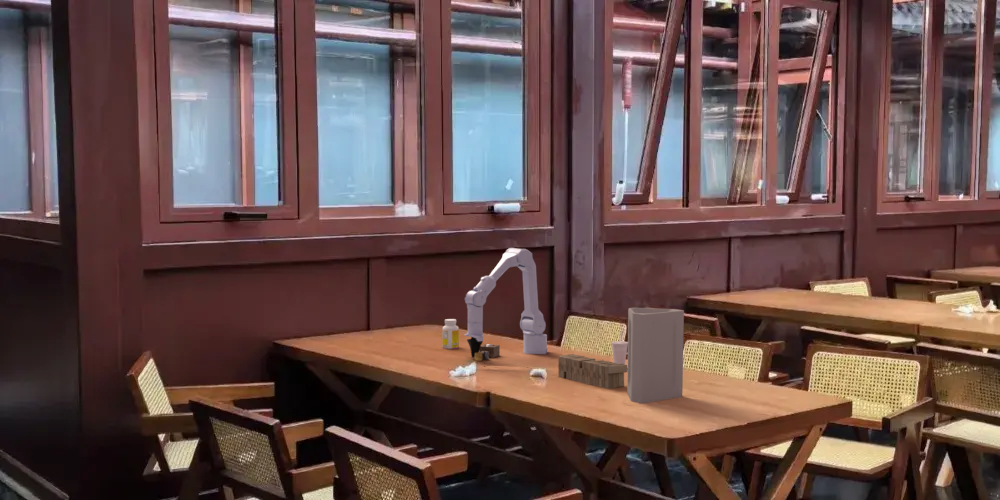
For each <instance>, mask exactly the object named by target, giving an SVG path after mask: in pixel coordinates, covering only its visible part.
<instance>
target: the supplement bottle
mask: <svg viewBox="0 0 1000 500" xmlns="http://www.w3.org/2000/svg"><path fill="white" fill-rule="evenodd" d="M441 329H442V334H441V335H442V337H441V338H442V345H441V347H442V348H443V349H446V350H452V349H453V350H454V349H459V347H460V344H459V343H460V337H459V335H460V331H459V330H460V327H459V326H458V325H457V319H456V318H447V319H446V318H445V319H444V326H442V328H441Z"/></svg>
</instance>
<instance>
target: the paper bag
mask: <svg viewBox="0 0 1000 500" xmlns="http://www.w3.org/2000/svg"><path fill="white" fill-rule="evenodd" d="M627 312H628V318H627V321H628V322H627V325H628V327H627V342H628V346H627V383H626V384H627V385H626V386H627V387H626V388H627V390H626V394H627V395H628V398H629V400H630V401H631V402H632V403H638V404H648V403H651V402H652V403H653V402H660V401H666V400H671V399H677V398H682V397H683V386H684V385H683V383H684V381H683V380H684V377H683V374H684V370H683V369H684V332H685V331H684V326H685V325H684V323H685V321H684V320H685V310H683V309H677V308H656V307H655V308H653V307H652V308H651V307H649V308H648V307H629V308H628V311H627Z"/></svg>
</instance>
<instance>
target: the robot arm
mask: <svg viewBox="0 0 1000 500" xmlns="http://www.w3.org/2000/svg"><path fill="white" fill-rule="evenodd" d="M513 267H517V268H519V270H520V271H521V273H522V286H523V287H522V288H523V289H522V290H523V302H524V303H523V304H524V306H523V307H524V308H523V309H524V310H523V311H522V313H521V314H520V315H521V318H520V321H519V327H520V330H522V333H523V350H522V351H523V354H526V355H527V354H528V355H546V354H548V348H547V347H548V340H547V339H548V335H547V334H545V333H544V332H545V330H546V326H547V325H546V324H547V323H546V321H545V318H544V314H543V313H542V312H541V310H540V309H539V300H538V299H539V294H538V280H537V265H536V262H535V260H534V258H533V252H531V251H530V250H528V249H526V248H515V247H509V248H508V249H506V250H505V252H504V253H502V257H501V259H500V260H499V262H498V263H497V264H496V266H495V267H494V269H492V270H491V272H490V273H489V275H484V276H481V277H480V281H479V282H478V283H477V284H476V285H475V286H474V287H473V288H472V290H469V291H468V292H467V293H466V294H465V297H464V302H465V304H466V309H467V332H466V333H464V336H465V337H470V338H467V339H466V342H467V343H468V346H469V348H470V353H471V355H470V356H471V358H473V359H475V353H476V352H479V349H480V346H482V345H483V342H484V332H483V329H484V328H483V321H484V319H483V318H484V311H483V310H484V305H485V304H486V302H487V298H488V296H489V295H490V294H491V292H492V291H493V290H494V289H495V288H496V286H497V281H498V280H499V278H501V277H502V275H503V274H504V273H505V272H506V271H507V270H508V269H509V268H513Z"/></svg>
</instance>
